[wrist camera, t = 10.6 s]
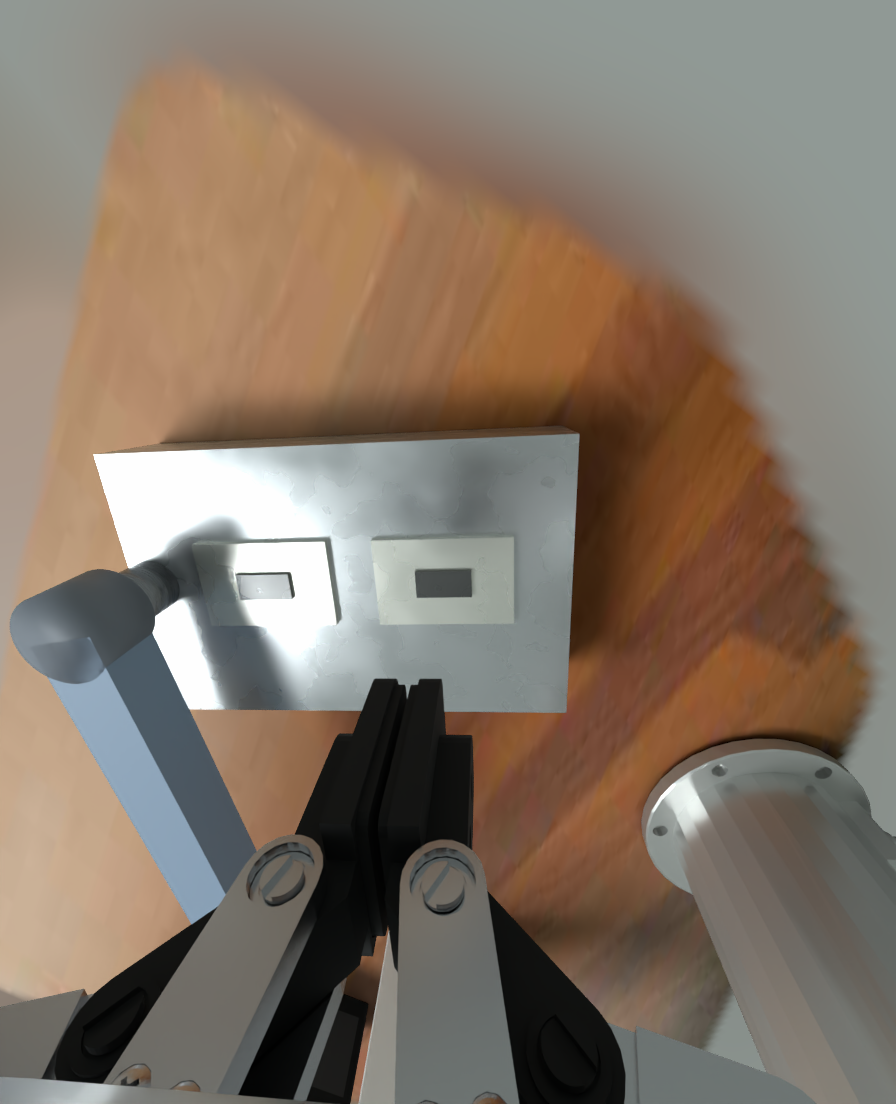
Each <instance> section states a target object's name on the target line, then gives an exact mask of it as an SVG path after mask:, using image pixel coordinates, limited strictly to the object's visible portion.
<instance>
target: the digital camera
mask: <svg viewBox="0 0 896 1104" xmlns="http://www.w3.org/2000/svg"><path fill="white" fill-rule="evenodd" d="M367 1009H368V1004H367V1003H364V1002H362V1001H360V1000H357V999H354V998H352V997H349V996H347V995H344V994H343V997H342V999H341V1002H340V1005H339V1008H338V1011H337V1014H336V1017H335V1019H334V1022H333V1025H332V1028H331V1031H330V1034H329V1037H328V1039H327V1042H326V1045H325V1048H324V1051H323V1054H322V1056H321V1059H320V1062H319V1065H318V1068H317V1071H316V1074H315V1076H314V1079H313V1082H312V1085H311V1088H310V1091H309V1094H308V1096H307V1099H306V1101H309V1102H320V1103H332V1104H350V1102H351V1096H352V1091H353V1086H354V1080H355V1075H356V1069H357V1064H358V1058H359V1053H360V1047H361V1042H362V1037H363V1031H364V1026H365V1020H366V1015H367Z"/></svg>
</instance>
